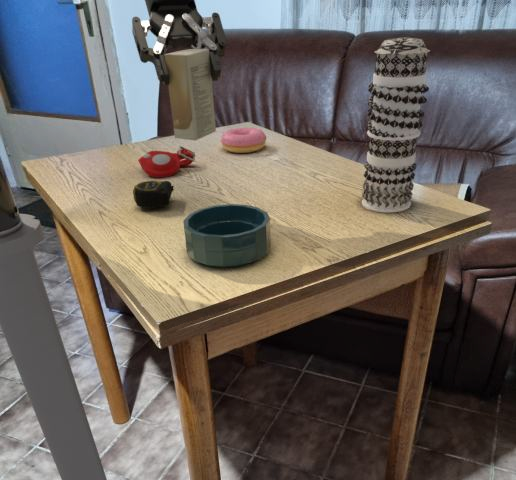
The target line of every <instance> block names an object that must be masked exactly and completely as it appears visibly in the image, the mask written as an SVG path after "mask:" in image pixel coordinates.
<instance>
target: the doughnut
mask: <svg viewBox="0 0 516 480" xmlns="http://www.w3.org/2000/svg"><path fill="white" fill-rule="evenodd" d="M266 141H267V136H266V133H265V132H264V131H263V130H262V129H261V128H255V127H237V128H236V127H235V128H231V129H227V130H226V131H225V132H224V133H223V134H222V135H221V137H220V142H221V146H222V148H223V149H224V150H225V151H227V152H230V153H236V154H246V153H253V152H257V151H260V150H261V149H263V148H264V147H265V145H266V143H267V142H266Z"/></svg>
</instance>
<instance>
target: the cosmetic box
mask: <svg viewBox="0 0 516 480" xmlns="http://www.w3.org/2000/svg"><path fill="white" fill-rule="evenodd" d="M164 55H165V56H164V58H165V62H166V66H167V69H168V73H169V85H167V86H168V93H169V94H168V95H169V102H170V110H171V111H170V112H171V118H172V125H173V134H174V138H175V139H179V140H188V141H198V140H200V139H202V138H205V137H206V136H209V135H211V134H213V133H215V132H216V131H217V129H216V128H217V127H216V116H215V104H214V91H213V80H212V77H211V68H210V55H209V50H207V49H194V48H185V49H181V50H176V51H173V52H169V53H166V54H164Z"/></svg>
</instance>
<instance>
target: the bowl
mask: <svg viewBox="0 0 516 480" xmlns="http://www.w3.org/2000/svg"><path fill="white" fill-rule="evenodd" d="M183 230H184V231H183V232H184V239H185V247H186V253H187V256H188V257H189V258H190V259H192V260H193V261H194V262H197V263H200V264H203V265H205V266H210V267H215V268H233V267H241V266H246V265H248V264H252V263H254V262H255V261H258V260H260V259H262V258H263V257H264V256H266V255H267V254H268V253H269V251H270V249H271V247H272V238H271V236H272V235H271V218H270V215H269V213H268V212H267V211H265V210H264V209H262V208H260V207H258V206H253V205H248V204H240V203H226V204H215V205H212V206H211V205H210V206H206V207H201V208H199V209H197V210H195V211H193V212H191V213H189V214H188V215H187V216H186V217H185V218H184V219H183Z"/></svg>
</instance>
